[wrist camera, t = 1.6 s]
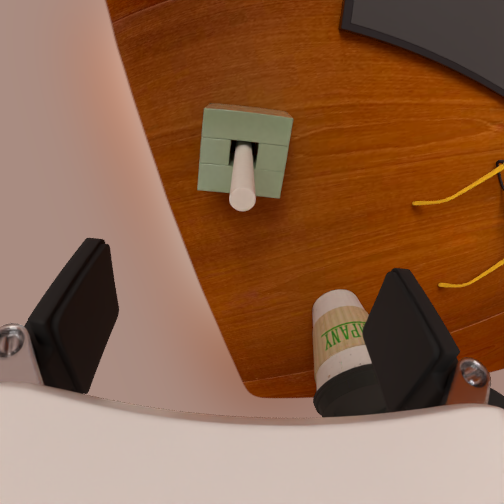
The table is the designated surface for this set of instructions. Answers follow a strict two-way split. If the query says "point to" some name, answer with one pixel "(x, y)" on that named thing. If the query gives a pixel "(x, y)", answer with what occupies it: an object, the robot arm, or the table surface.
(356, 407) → the coffee cup
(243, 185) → the stylus
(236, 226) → the table surface
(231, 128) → the stylus holder
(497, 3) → the tablet
